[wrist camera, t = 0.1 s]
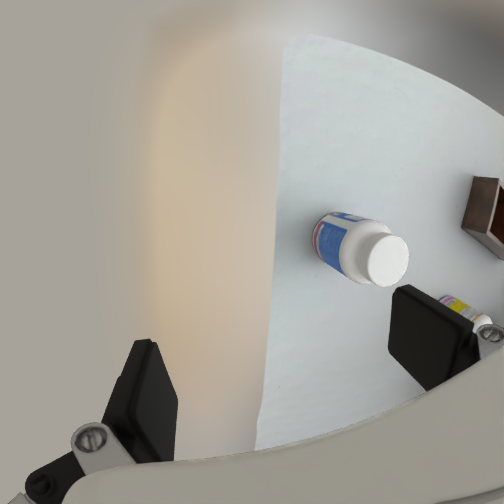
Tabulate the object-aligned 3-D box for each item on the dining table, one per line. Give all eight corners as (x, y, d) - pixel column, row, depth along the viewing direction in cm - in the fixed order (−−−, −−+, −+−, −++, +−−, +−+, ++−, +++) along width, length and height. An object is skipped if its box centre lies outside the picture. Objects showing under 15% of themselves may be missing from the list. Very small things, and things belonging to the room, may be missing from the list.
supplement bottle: (443, 332, 39) (490, 367, 27) (422, 329, 38) (473, 369, 26) (458, 297, 38) (510, 327, 26) (438, 291, 37) (495, 324, 24)
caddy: (473, 176, 33) (498, 178, 28) (511, 217, 37) (531, 222, 31) (460, 227, 35) (485, 234, 29) (500, 259, 38) (519, 266, 33)
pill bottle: (328, 273, 33) (376, 311, 22) (301, 233, 31) (344, 259, 21) (366, 241, 33) (423, 265, 22) (341, 201, 31) (398, 211, 20)
